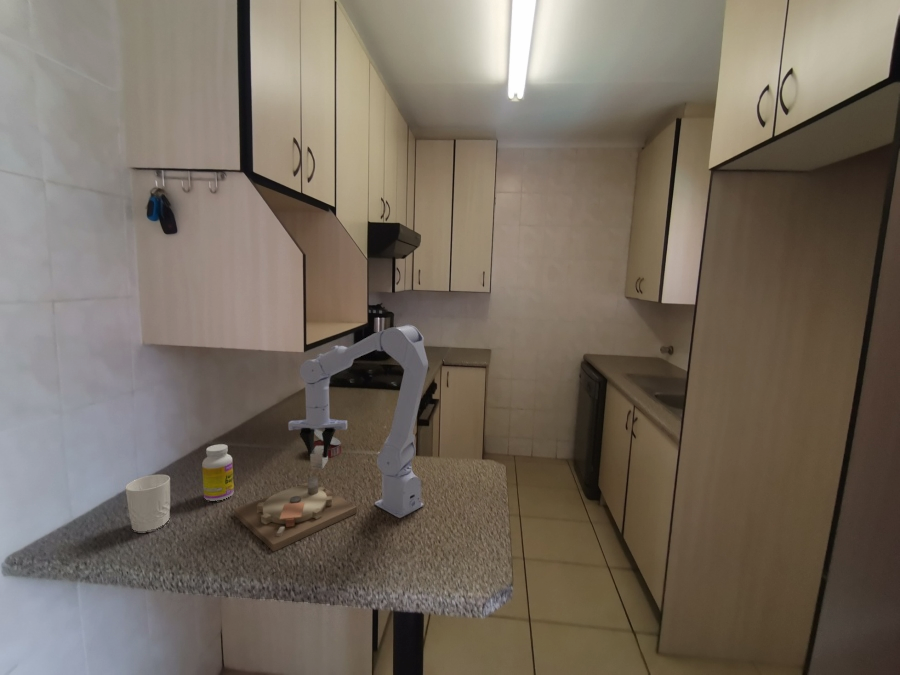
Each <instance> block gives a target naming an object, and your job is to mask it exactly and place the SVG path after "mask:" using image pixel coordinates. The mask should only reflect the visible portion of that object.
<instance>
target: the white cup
mask: <svg viewBox="0 0 900 675" xmlns="http://www.w3.org/2000/svg"><path fill="white" fill-rule="evenodd" d="M124 489H125V494H126V501H127V509H128V514H129V515H128V516H129V519H130V526H131V530H132V529H133V530H136V531H147V530H151V529H156V528H158V527H160V526H162V525H164V524H165V523H166V522H167V521H168V520H169V518H170V517H171V514H170V510H171V477H170V476H169V475H167V474H151V475H146V476H142V477H139V478H137V479H134V480H132V481H130V482H128V483H127V484H126V485H125V488H124ZM170 519H171V518H170ZM169 521H170V520H169ZM133 530H132V531H133Z"/></svg>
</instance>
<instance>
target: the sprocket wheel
mask: <svg viewBox="0 0 900 675" xmlns="http://www.w3.org/2000/svg"><path fill="white" fill-rule="evenodd" d="M306 481H307V482H308V487H304V485H302V484H297V485H296V486H297V487H296V486H295V487H296V488H293V487H290V488H287V489H284V490H281V491H279V490H275V491H273V492H270V496H271V497H269V498H268V499H267V500H266V501H265V502H262V503H258V505H257V513H258V512H263V515H262V516H261V522H262V523H264V524H268V523H270V522H273V523H278V524H286V527H290V526H294V525H295V523H297V522H302V521H305V520H308V519H311V518H315V519H318V518H320V517H321V516H322V511H323V510H324V509H325V508H326V506H330V505H332V496H327V495H326V489H327V488H326V487H324V486H322V487H319V488H318V484H319V478H318V476H310V477H308V478H307V480H306Z"/></svg>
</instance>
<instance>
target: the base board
mask: <svg viewBox="0 0 900 675" xmlns="http://www.w3.org/2000/svg"><path fill="white" fill-rule="evenodd" d="M301 485H304V487H308V481H307V482H304V483H301ZM296 487H297V485H296V486H294V487H292V488H296ZM319 487H323V485H321V484H320V483H318V488H319ZM326 495H327V496H332V505H330V506H326V508H325V509H324V510H323V511H322V516H321V517H320V518H318V519H315V518H311V519H308V520H305V521H302V522H297V523H295V525H294V526H290V527H286V524H278V523H273V522H270V523H268V524H264V523H262V522H261V516H262V515H263V512H258V513H257V505H258V503H262V502H265V501H266V500H267V499H268V498H269V497H271V495H269V496H265V497H263V498H260V499H257V500H255V501H252V502H250V503H249V502H248V503H247V504H245V505H241V506H239V507H235V508H233V516H234V517H235V518H236V519H237V520H239V521H240V522H241V523H242V524H243V525H244V526H245V527H246V528H247V529H248V530H250V531H251V532H252V534H254V535H255V536H256V537H257V538H258V539H260V540H261V542H263V543H264V545H265V546H267V547H268V548H269V549H270V550H271V551H272V552H277V551H278V550H281V549H283V548H284V547H287V546H289V545H291V544H293V543H296V542H298V541H300V540H302V539H304V538H306V537H308V536H310V535H312V534H315V533H316V532H318V531H321V530H323V529H325V528H328V527H330V526H332V525H334V524H337V523H338V522H340V521H343V520H345V519H347V518H348V517H349V518H350V517H351V516H353V515H355V514H357V513H358V507H357V506H356V505H355V504H354V503H352V502H350V501H348V500H346V499H344V498H343V497H341V496H340V495H338V494H336V493H334V492H332V491H331V490H329V489H327V488H326Z"/></svg>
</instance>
